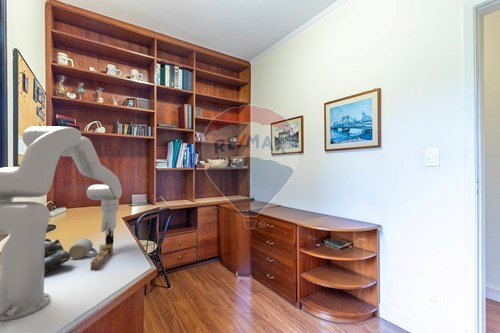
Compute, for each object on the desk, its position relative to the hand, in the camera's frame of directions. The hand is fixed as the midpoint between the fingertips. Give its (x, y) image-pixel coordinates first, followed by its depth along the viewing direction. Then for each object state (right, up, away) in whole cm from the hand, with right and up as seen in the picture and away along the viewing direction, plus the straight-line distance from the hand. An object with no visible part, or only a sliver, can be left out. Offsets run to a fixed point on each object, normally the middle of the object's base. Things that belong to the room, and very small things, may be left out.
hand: (109, 244), depth 118 cm
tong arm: (+6, -3, -15) cm, 16 cm away
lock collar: (+2, -4, -6) cm, 7 cm away
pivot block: (+2, -4, -5) cm, 6 cm away
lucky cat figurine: (-12, -3, -24) cm, 27 cm away
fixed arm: (+4, -3, -14) cm, 14 cm away
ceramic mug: (-8, -4, -7) cm, 11 cm away
